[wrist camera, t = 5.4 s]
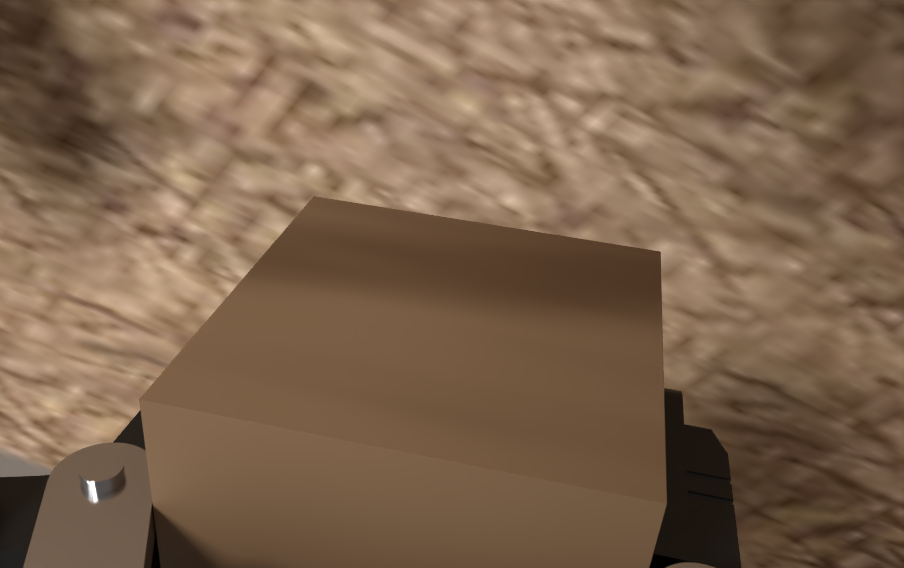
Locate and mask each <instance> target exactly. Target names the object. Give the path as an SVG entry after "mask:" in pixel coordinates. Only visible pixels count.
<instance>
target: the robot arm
mask: <svg viewBox="0 0 904 568" xmlns="http://www.w3.org/2000/svg"><path fill="white" fill-rule="evenodd" d="M664 409H665V449H666V488H667V505H666V509H665V513H664V516H663V520H662V523H661V527H660V531H659V534H658V538H657V541H656V545H655V549H654V552H653V556H652V559H651V563H650V567H649V568H741V561H740V553H739V545H738V536H737V528H736V520H735V511H734V505H732V503H733V494H732V486H731V484H730V480H731V478H730V469H729V461H728V454H727V452H726V451H725V449H724V448H723V446H722V445H721V443H720V442H719V440H718V439H717V437H716V436H715V434H714V433H713V431H712V430H711V429H706V428H701V427H695V426H690V425H685V424H684V415H683V397H682V392H681V391H677V390H671V389H666V388H664ZM0 568H161V566H160V558H159V550H158V542H157V534H156V527H155V519H154V511H153V503H152V495H151V488H150V480H149V472H148V464H147V456H146V449H145V441H144V433H143V425H142V417H141V410H140V411H139V412H138V414H137V415H136V416H135V417H134V418H133V420H132V421H131V422H130V423H129V424H128V425H127V427H126V428H125V429H124V430H123V431H122V433H121V434H120V435H119V436H118V437H117V439H116V440H115V441H114V442H113V443H103V444H97V445H93V446H89V447H86V448H83V449H81V450H79V451H76V452H74V453H73V454H71V455H69V456H67V457H66V458H65V459H63V460H62V461H61V462H60V463H59V464H58V465H57V466H56V467H55V468H54V469H53V471H52V472H51V474H50V475H44V476H26V477H25V476H24V477H0Z"/></svg>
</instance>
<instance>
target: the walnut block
mask: <svg viewBox="0 0 904 568" xmlns="http://www.w3.org/2000/svg"><path fill="white" fill-rule="evenodd" d="M139 402H140V409H141V417H142V425H143V433H144V441H145V449H146V456H147V464H148V472H149V480H150V488H151V495H152V503H153V511H154V519H155V527H156V534H157V542H158V550H159V558H160V566H161V568H649V567H650V563H651V559H652V556H653V552H654V549H655V545H656V541H657V538H658V534H659V531H660V527H661V523H662V520H663V516H664V513H665V509H666V505H667V488H666V449H665V409H664V370H663V331H662V291H661V252H659V251H653V250H647V249H640V248H634V247H628V246H622V245H615V244H609V243H603V242H597V241H590V240H584V239H578V238H571V237H565V236H559V235H553V234H546V233H540V232H534V231H528V230H521V229H515V228H509V227H503V226H496V225H490V224H484V223H478V222H471V221H465V220H459V219H452V218H446V217H440V216H434V215H427V214H421V213H415V212H409V211H402V210H396V209H390V208H384V207H377V206H371V205H365V204H359V203H352V202H346V201H340V200H333V199H327V198H321V197H315V196H314V197H313V198H312V199H311V200H310V202H309V203H308V204H307V205H306V206H305V207H304V209H303V210H302V211H301V212H300V213H299V214H298V215H297V217H296V218H295V219H294V220H293V221H292V222H291V224H290V225H289V226H288V227H287V228H286V229H285V231H284V232H283V233H282V234H281V235H280V236H279V238H278V239H277V240H276V241H275V242H274V243H273V245H272V246H271V247H270V248H269V249H268V250H267V252H266V253H265V254H264V255H263V256H262V257H261V258H260V260H259V261H258V262H257V263H256V264H255V265H254V267H253V268H252V269H251V270H250V271H249V272H248V274H247V275H246V276H245V277H244V278H243V279H242V281H241V282H240V283H239V284H238V285H237V286H236V288H235V289H234V290H233V291H232V292H231V293H230V295H229V296H228V297H227V298H226V299H225V300H224V302H223V303H222V304H221V305H220V306H219V307H218V308H217V310H216V311H215V312H214V313H213V314H212V315H211V317H210V318H209V319H208V320H207V321H206V322H205V324H204V325H203V326H202V327H201V328H200V329H199V331H198V332H197V333H196V334H195V335H194V336H193V338H192V339H191V340H190V341H189V342H188V343H187V345H186V346H185V347H184V348H183V349H182V350H181V352H180V353H179V354H178V355H177V356H176V357H175V358H174V360H173V361H172V362H171V363H170V364H169V365H168V367H167V368H166V369H165V370H164V371H163V372H162V374H161V375H160V376H159V377H158V378H157V379H156V381H155V382H154V383H153V384H152V385H151V386H150V388H149V389H148V390H147V391H146V392H145V393H144V395H143V396H142V397H141V398H140V399H139Z"/></svg>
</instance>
